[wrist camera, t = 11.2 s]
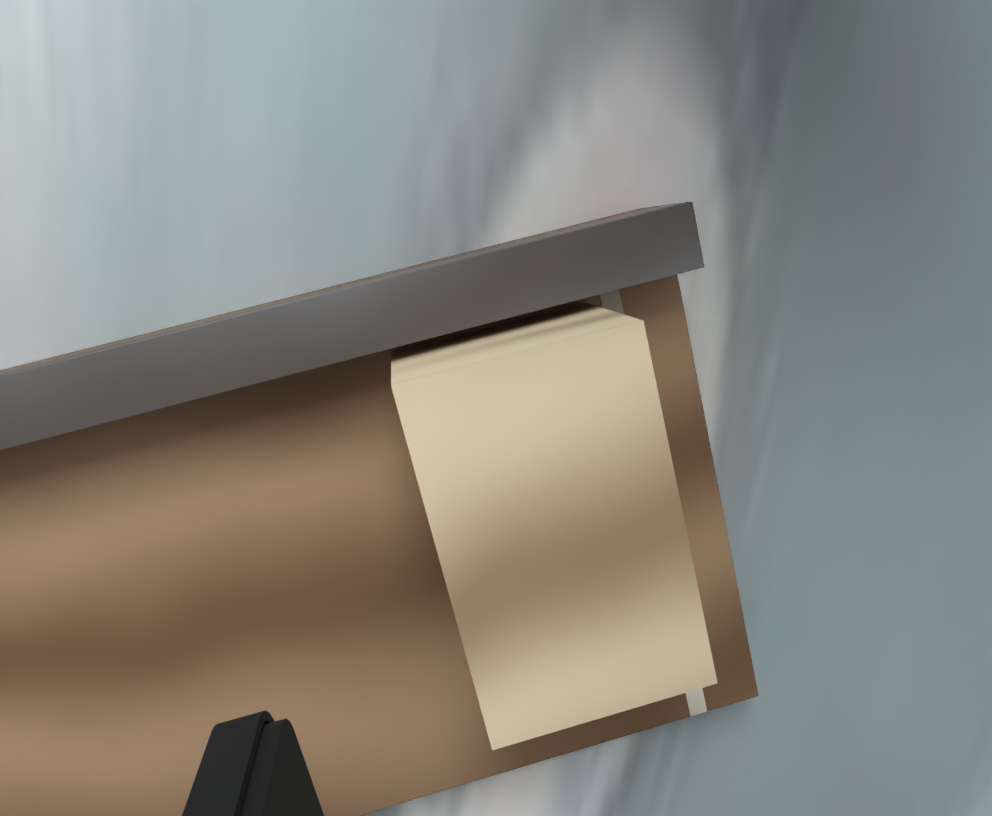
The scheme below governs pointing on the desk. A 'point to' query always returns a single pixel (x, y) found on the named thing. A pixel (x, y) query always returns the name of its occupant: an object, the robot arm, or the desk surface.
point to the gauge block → (555, 517)
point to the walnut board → (296, 535)
